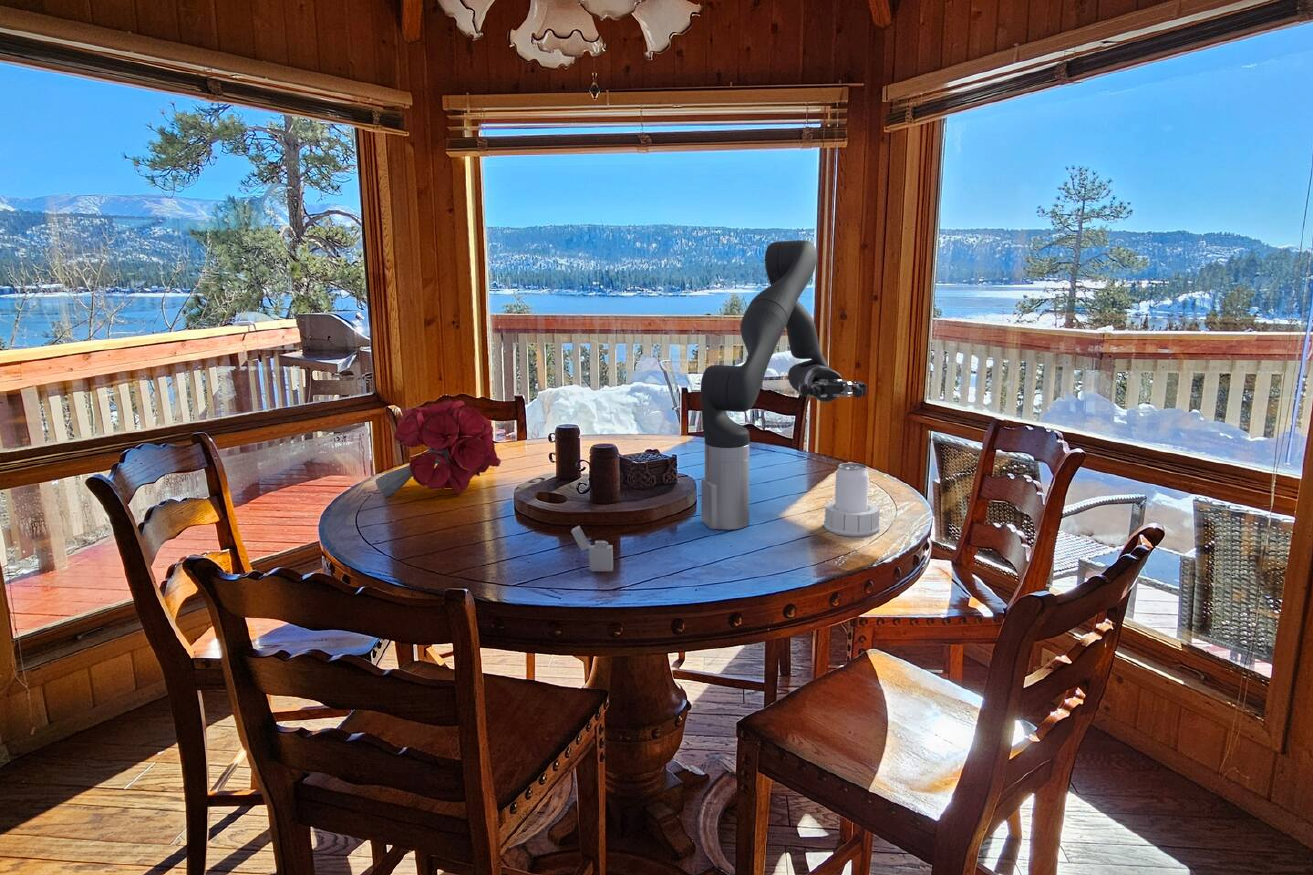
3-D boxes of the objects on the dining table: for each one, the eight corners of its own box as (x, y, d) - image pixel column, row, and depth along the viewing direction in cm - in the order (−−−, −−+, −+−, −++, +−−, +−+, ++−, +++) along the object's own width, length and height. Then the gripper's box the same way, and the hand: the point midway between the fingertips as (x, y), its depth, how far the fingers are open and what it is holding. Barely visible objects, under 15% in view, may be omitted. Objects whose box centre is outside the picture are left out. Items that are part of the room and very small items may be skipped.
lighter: (613, 567, 144) (612, 525, 142) (612, 571, 142) (611, 528, 140) (574, 567, 144) (572, 525, 142) (572, 571, 142) (571, 528, 141)
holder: (840, 539, 157) (841, 517, 156) (814, 522, 167) (815, 502, 166) (889, 533, 160) (890, 512, 159) (861, 517, 170) (862, 497, 169)
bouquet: (402, 538, 183) (513, 467, 185) (340, 452, 178) (456, 381, 180) (414, 516, 204) (514, 453, 206) (359, 439, 199) (462, 376, 201)
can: (830, 525, 162) (832, 468, 159) (839, 516, 168) (840, 461, 165) (862, 529, 159) (864, 471, 156) (870, 520, 165) (872, 464, 162)
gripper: (793, 367, 186) (806, 376, 170) (854, 366, 186) (873, 375, 170) (792, 399, 187) (805, 411, 171) (853, 398, 187) (871, 410, 171)
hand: (839, 393), depth 170 cm, fingers open, 8 cm apart
